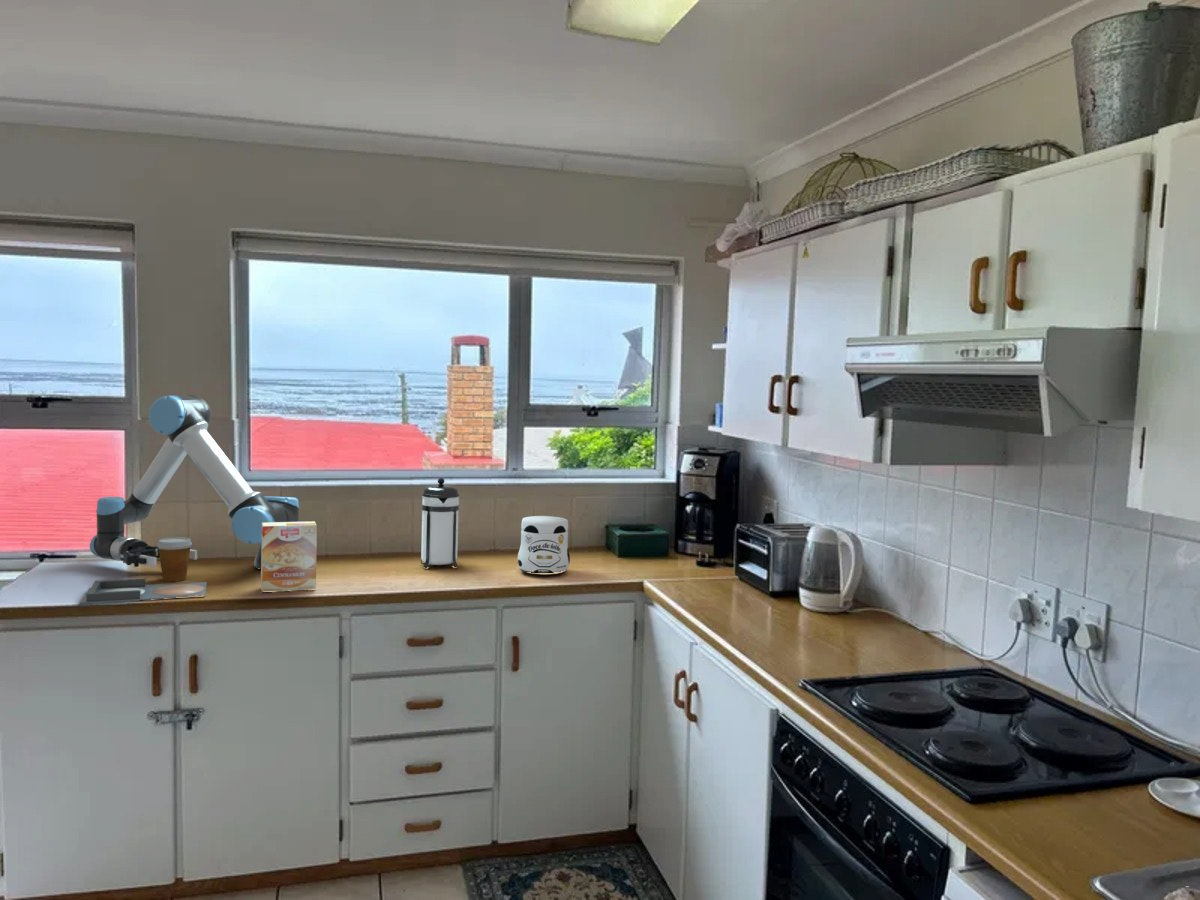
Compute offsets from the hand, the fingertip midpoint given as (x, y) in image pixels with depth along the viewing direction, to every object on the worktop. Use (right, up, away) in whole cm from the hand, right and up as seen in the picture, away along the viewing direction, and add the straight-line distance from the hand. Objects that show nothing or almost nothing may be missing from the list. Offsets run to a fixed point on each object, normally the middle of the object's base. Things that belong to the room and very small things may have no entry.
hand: (176, 558), depth 254 cm
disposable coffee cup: (-1, -7, +1) cm, 7 cm away
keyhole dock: (0, -8, -17) cm, 19 cm away
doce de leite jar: (+108, -9, +29) cm, 112 cm away
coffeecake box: (+36, -8, -6) cm, 37 cm away
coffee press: (+72, -7, +35) cm, 80 cm away
